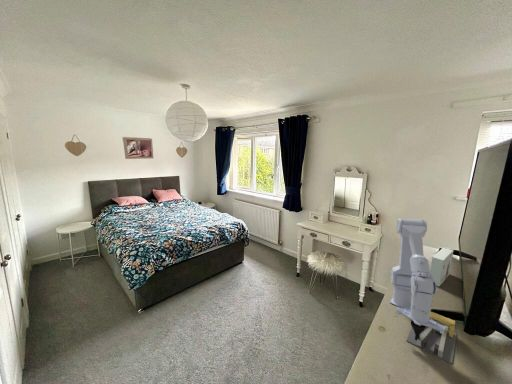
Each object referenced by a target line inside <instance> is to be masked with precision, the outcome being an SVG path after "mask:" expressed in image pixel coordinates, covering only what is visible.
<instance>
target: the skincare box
mask: <svg viewBox="0 0 512 384" xmlns="http://www.w3.org/2000/svg"><path fill="white" fill-rule="evenodd" d="M453 254H454V250H453V249H451V248H446V247H442V248H441V249H440V250H439V251H437V253H435V254H434V255H433V256H432V258H431V264H430V273H431V275H432V276H433V278H434V280H435V283H436V287H440V286H441V285H442V284H443V283H444V282H445V281H446V279H448V277H449V275H450V273H451V267H452V260H453V257H454V255H453Z"/></svg>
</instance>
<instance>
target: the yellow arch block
mask: <svg viewBox="0 0 512 384" xmlns="http://www.w3.org/2000/svg"><path fill="white" fill-rule="evenodd" d="M430 319H432V320H434V321H436V322H440V323H442V324H444V325H446V326H448V327H449V329H448V330H449V336H450V337H452V338H453V334H454V332H455V326H456V320H453V319H451V318H449V317H445V316H444V315H441V314H439V313H436V312H433V311H431V310H430ZM427 327H428V326H427Z"/></svg>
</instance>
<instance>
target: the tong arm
mask: <svg viewBox="0 0 512 384" xmlns="http://www.w3.org/2000/svg"><path fill="white" fill-rule="evenodd" d="M432 332H433V328H431V327H428V328H427V329H426V330H425V331H424V333H423V334H422V335H421V336H420V337H419V338H418V339H417V345H419V346H420V347H422V348H424V347H425V346H426V343H427V339H428V338H429V336H430V335H431V334H432Z"/></svg>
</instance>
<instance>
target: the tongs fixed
mask: <svg viewBox="0 0 512 384" xmlns="http://www.w3.org/2000/svg"><path fill="white" fill-rule="evenodd" d="M443 326H445V333H444V334H442V333H440V331H438V330H435V333H436V334H438V335H442V336H441V340H440V345H437V344H435V347H434V354H435V355H437V356H439V357H441V358H442V356H443V351H444V346H445V341H446V336H447V331H448V330H449V325H446V324H444V325H443ZM435 355H434V356H435ZM437 356H436V357H437ZM439 357H438V358H439ZM441 358H440V359H441Z"/></svg>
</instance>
